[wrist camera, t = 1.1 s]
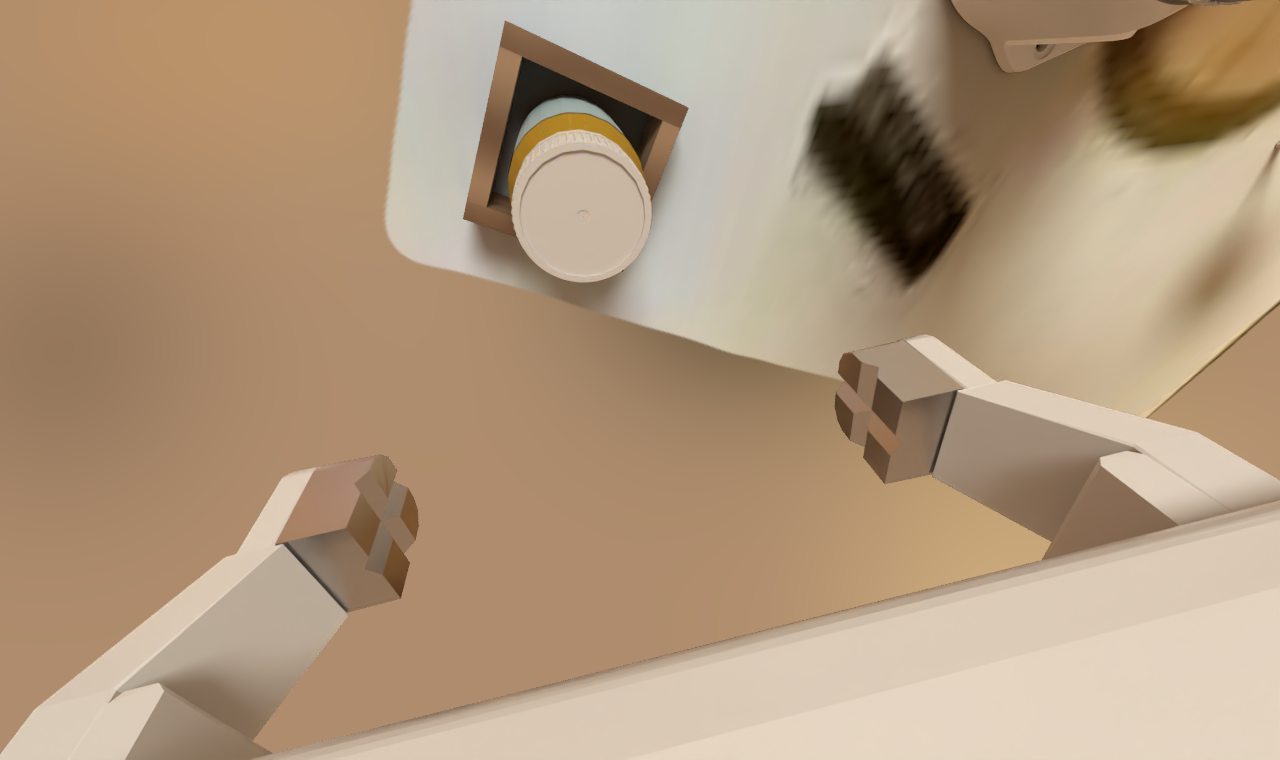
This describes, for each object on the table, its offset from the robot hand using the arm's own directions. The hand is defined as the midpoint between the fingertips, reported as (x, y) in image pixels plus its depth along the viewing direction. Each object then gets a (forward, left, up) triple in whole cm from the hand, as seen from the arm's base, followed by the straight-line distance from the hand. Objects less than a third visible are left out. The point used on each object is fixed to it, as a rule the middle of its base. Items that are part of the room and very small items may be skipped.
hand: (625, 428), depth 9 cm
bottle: (0, +1, -30) cm, 30 cm away
